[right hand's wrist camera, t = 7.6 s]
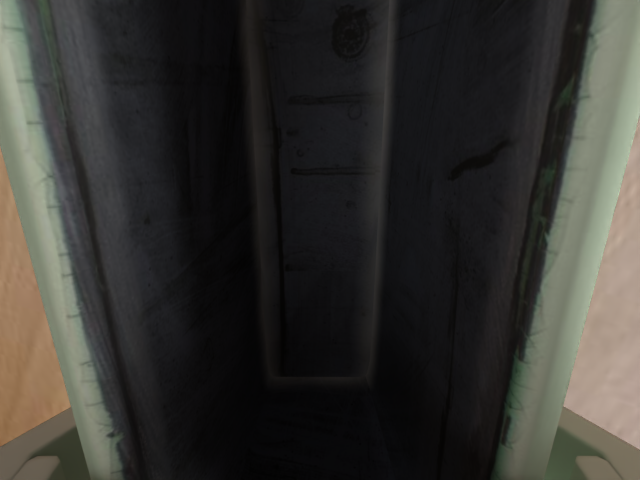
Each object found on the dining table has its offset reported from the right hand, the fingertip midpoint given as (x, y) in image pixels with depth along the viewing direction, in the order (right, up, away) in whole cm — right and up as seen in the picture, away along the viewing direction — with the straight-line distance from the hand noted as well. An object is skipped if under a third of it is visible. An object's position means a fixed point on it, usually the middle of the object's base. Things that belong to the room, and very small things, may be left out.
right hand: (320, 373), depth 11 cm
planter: (0, +10, -1) cm, 10 cm away
